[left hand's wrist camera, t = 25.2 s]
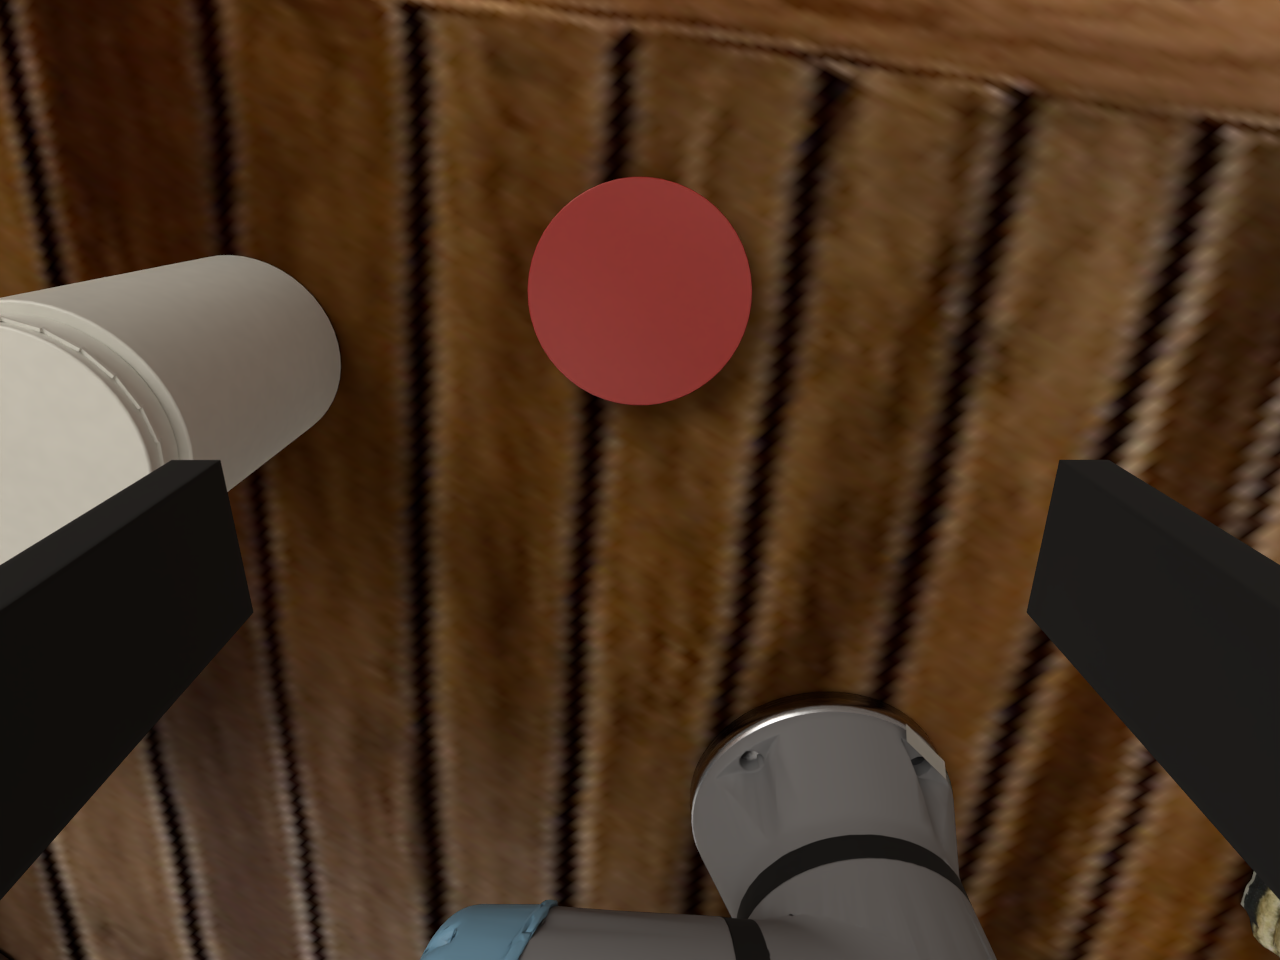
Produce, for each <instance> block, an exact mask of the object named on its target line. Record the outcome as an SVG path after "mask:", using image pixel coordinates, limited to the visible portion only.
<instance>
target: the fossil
mask: <svg viewBox="0 0 1280 960" xmlns="http://www.w3.org/2000/svg"><path fill="white" fill-rule="evenodd" d="M1241 905H1242V906H1243V907H1244V908H1245V909H1246V911H1247V913H1248V915H1249V917H1250V922H1251V927H1252V931H1253V935H1254V937H1255V938H1256V939H1257V940H1258V942H1259V943H1260V944H1261V945H1262V946H1263V947H1265V948H1267V949H1269V950H1270V951H1272V952H1274V953H1275V954H1276V955H1278V956H1279V957H1280V900H1279V899H1278V898H1277V897H1276V895H1275V894H1274V893H1273V892H1272V891H1271V890H1270V889H1269V887H1268V886H1267V885H1266V884H1265V883H1264V882H1263V881H1262V879H1261V878H1260V877H1259V876H1258V875H1257V874H1256V873H1255V872H1253V876H1252V879H1251V881H1250V882H1249V883H1248V884H1247V886H1246V888H1245V892H1244V895H1243V898H1242V902H1241Z"/></svg>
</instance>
